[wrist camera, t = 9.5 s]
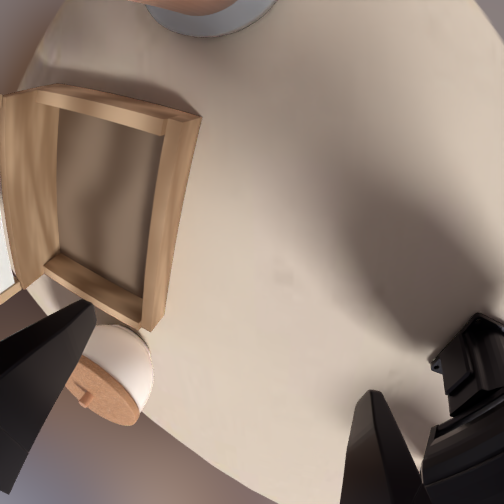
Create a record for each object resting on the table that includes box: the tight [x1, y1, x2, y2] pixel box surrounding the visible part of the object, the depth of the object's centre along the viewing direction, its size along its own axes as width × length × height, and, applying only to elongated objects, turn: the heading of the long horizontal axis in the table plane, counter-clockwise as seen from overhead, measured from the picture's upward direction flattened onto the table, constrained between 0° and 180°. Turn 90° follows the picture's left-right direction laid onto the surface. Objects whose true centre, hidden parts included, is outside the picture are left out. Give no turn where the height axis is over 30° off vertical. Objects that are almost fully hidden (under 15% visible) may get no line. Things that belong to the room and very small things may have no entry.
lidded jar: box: [65, 324, 154, 426], centre depth 30 cm, size 11×11×9 cm
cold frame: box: [0, 83, 202, 332], centre depth 22 cm, size 14×18×6 cm
